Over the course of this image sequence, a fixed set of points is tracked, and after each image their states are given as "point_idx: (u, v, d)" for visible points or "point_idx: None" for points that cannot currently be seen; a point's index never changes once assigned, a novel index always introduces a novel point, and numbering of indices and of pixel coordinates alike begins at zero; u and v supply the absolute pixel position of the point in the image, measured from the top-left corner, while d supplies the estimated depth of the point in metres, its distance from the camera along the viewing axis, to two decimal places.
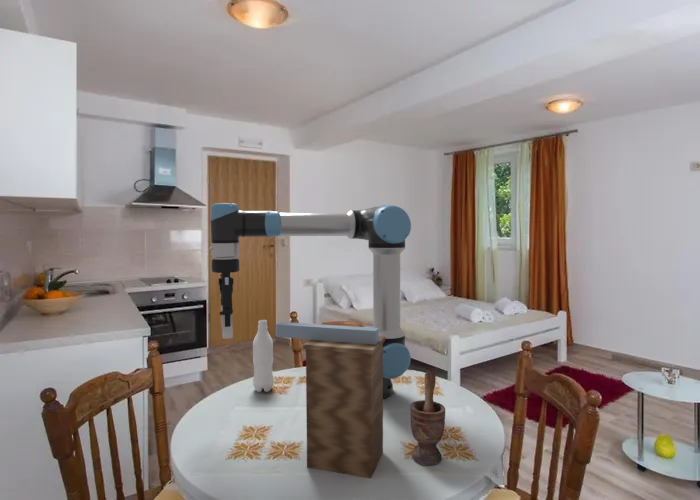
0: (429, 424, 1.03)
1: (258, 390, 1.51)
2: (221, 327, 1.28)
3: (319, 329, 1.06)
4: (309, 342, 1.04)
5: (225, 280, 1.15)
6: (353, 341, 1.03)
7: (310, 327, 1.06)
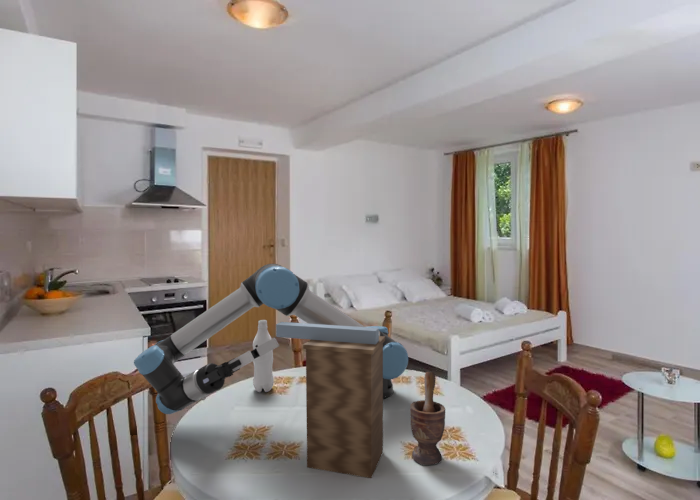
0: (429, 424, 1.03)
1: (258, 390, 1.51)
2: (277, 346, 1.18)
3: (319, 329, 1.06)
4: (309, 342, 1.04)
5: (205, 381, 1.10)
6: (353, 341, 1.03)
7: (310, 327, 1.06)
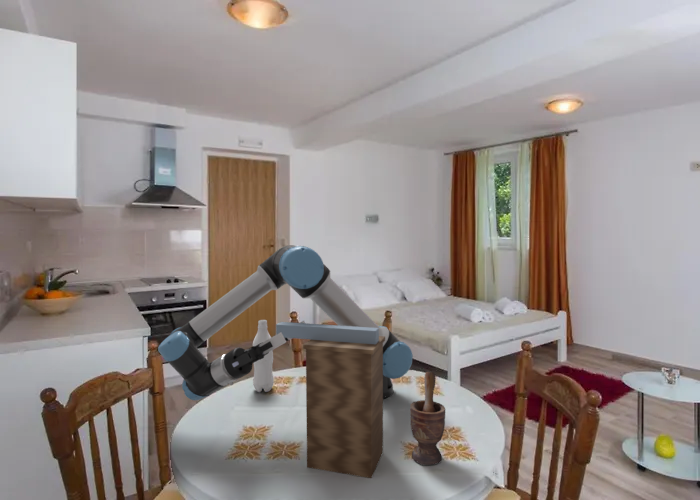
0: (429, 424, 1.03)
1: (258, 390, 1.51)
2: None
3: (319, 329, 1.06)
4: (309, 342, 1.04)
5: (234, 365, 1.07)
6: (353, 341, 1.03)
7: (310, 327, 1.06)
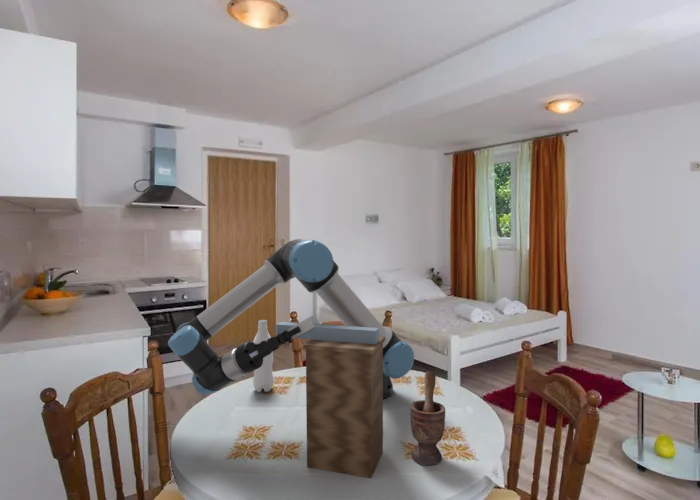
0: (429, 424, 1.03)
1: (258, 390, 1.51)
2: None
3: (320, 329, 1.06)
4: (309, 342, 1.04)
5: (253, 355, 1.06)
6: (353, 341, 1.03)
7: None
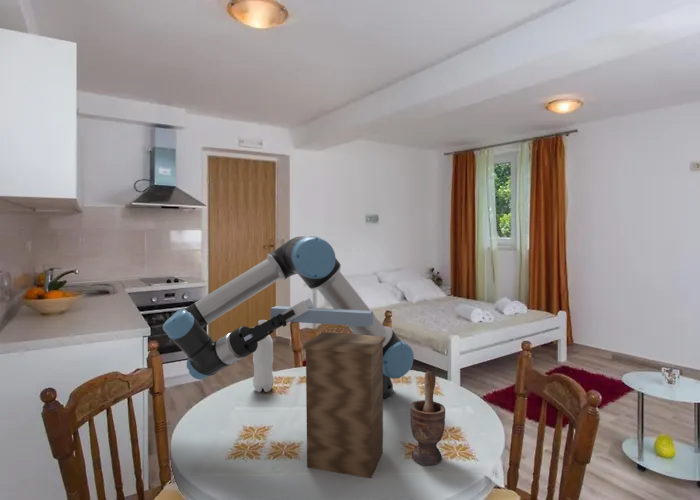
0: (429, 424, 1.03)
1: (258, 390, 1.51)
2: None
3: (314, 312, 1.06)
4: (309, 342, 1.04)
5: (247, 338, 1.06)
6: (347, 324, 1.03)
7: None
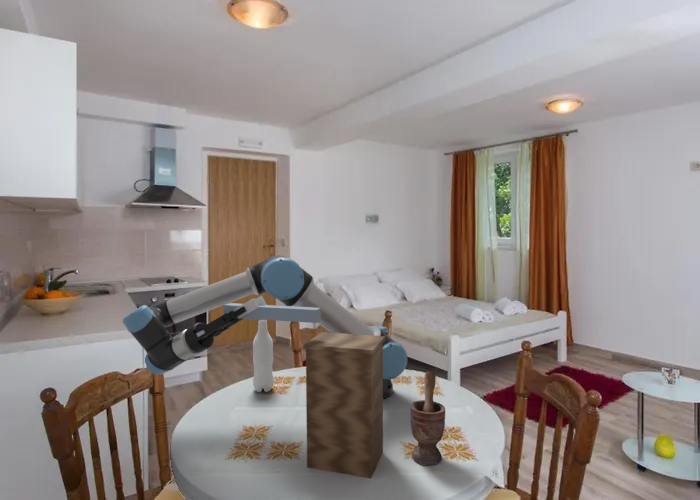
0: (429, 424, 1.03)
1: (258, 390, 1.51)
2: None
3: (264, 309, 1.09)
4: (309, 342, 1.04)
5: (200, 334, 1.10)
6: (295, 320, 1.07)
7: None
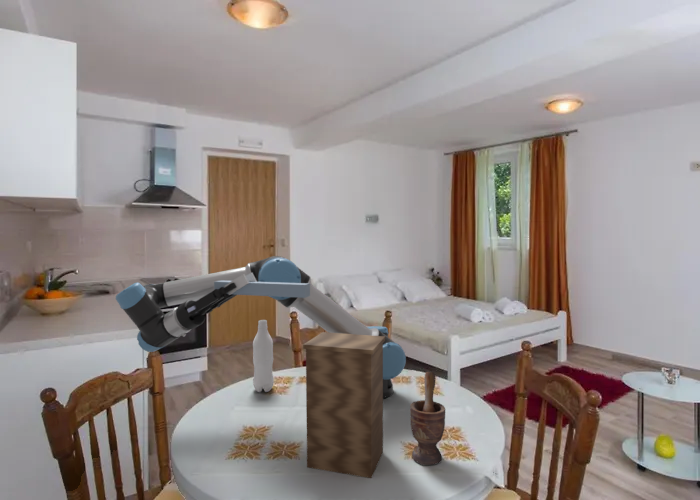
0: (429, 424, 1.03)
1: (258, 390, 1.51)
2: (254, 281, 1.14)
3: (254, 285, 1.10)
4: (309, 342, 1.04)
5: (190, 310, 1.11)
6: (284, 295, 1.08)
7: None
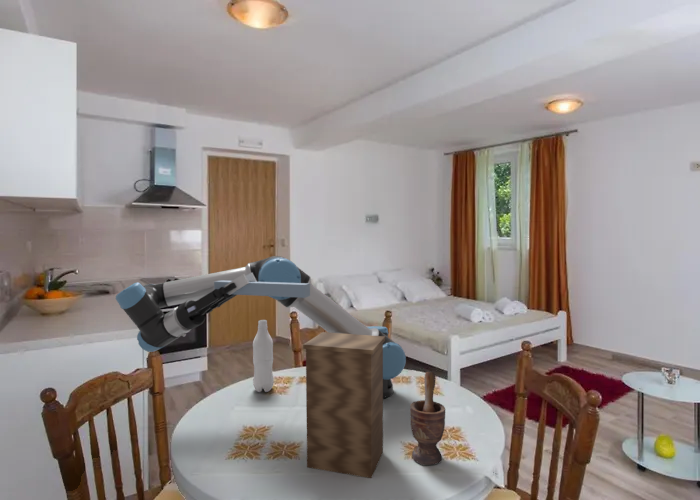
0: (429, 424, 1.03)
1: (258, 390, 1.51)
2: (255, 281, 1.14)
3: (254, 285, 1.10)
4: (309, 342, 1.04)
5: (190, 310, 1.11)
6: (284, 295, 1.08)
7: None
